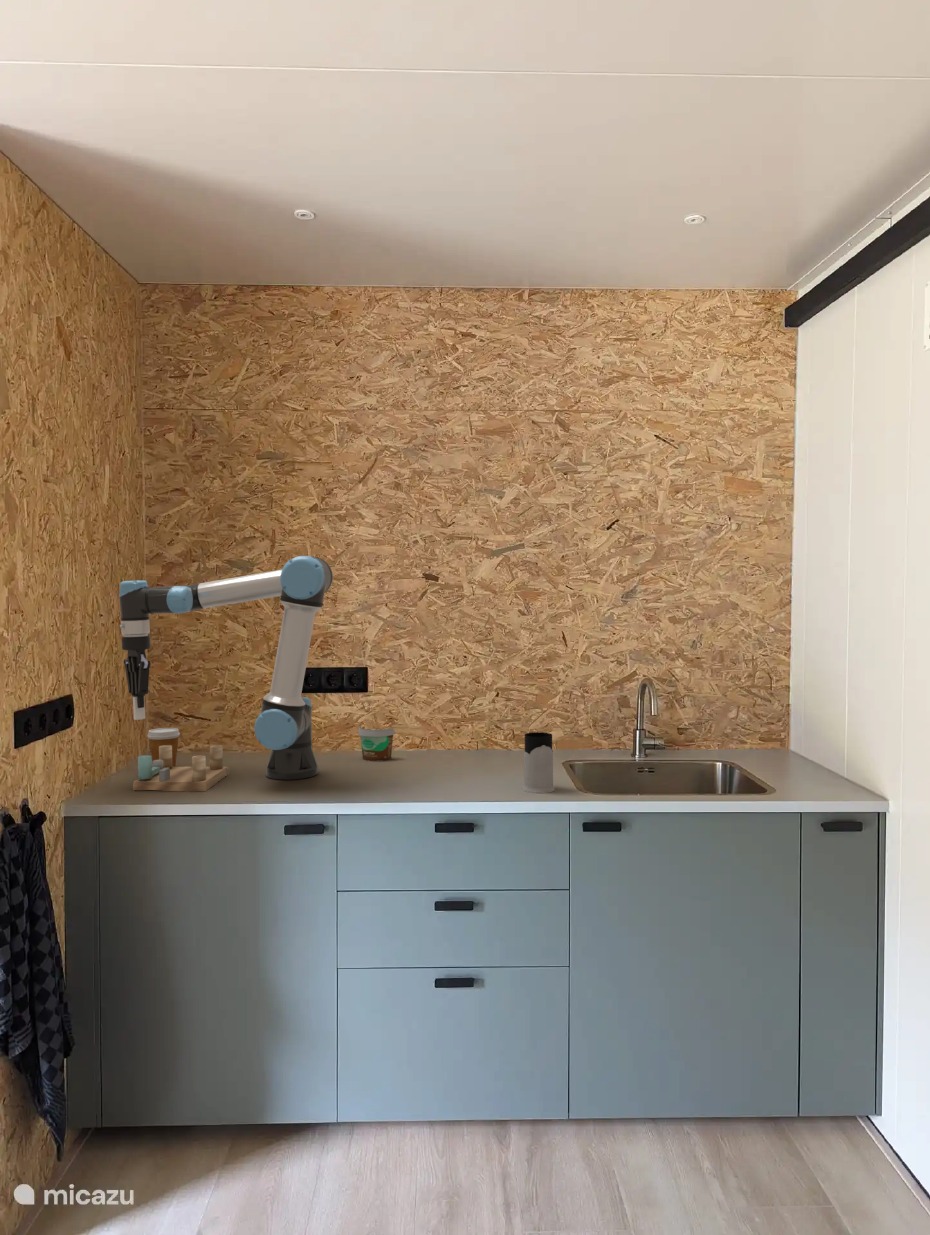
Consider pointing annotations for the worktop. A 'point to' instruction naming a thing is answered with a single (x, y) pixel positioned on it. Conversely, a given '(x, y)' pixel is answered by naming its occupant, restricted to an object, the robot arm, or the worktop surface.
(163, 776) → the block
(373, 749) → the food container
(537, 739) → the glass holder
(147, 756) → the hinged leg
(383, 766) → the worktop surface
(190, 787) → the stool seat
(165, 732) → the disposable coffee cup
